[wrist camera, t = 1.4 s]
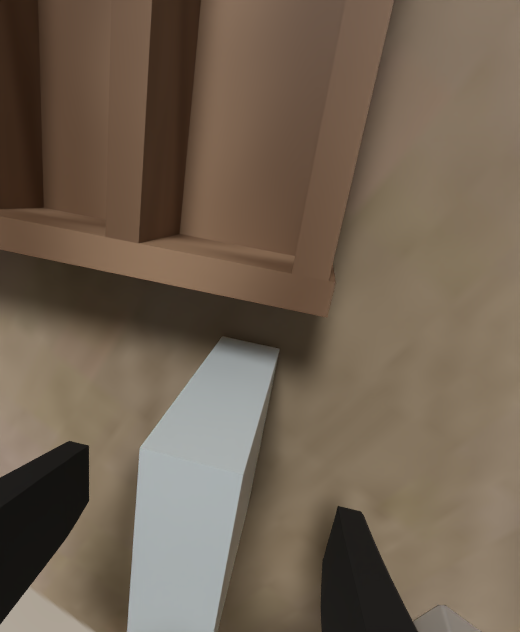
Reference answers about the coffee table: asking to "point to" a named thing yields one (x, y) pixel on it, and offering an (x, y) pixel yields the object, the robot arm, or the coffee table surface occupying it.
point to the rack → (187, 138)
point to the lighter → (443, 621)
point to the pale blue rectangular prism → (198, 490)
